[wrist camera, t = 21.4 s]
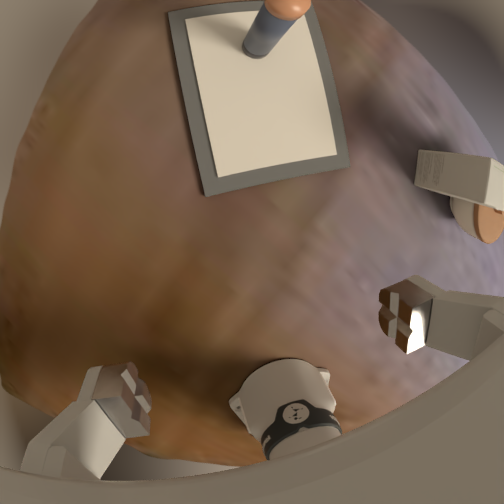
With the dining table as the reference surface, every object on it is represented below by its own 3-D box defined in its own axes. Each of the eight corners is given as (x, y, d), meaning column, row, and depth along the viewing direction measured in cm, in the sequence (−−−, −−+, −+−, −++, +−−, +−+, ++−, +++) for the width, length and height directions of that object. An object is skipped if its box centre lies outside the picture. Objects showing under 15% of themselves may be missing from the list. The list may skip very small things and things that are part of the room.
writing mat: (348, 166, 38) (351, 167, 37) (205, 196, 35) (205, 197, 34) (310, 3, 29) (312, 0, 28) (168, 14, 26) (167, 11, 25)
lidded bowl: (434, 185, 42) (482, 195, 32) (468, 156, 42) (511, 163, 32) (448, 242, 46) (489, 261, 36) (480, 211, 46) (518, 223, 36)
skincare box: (446, 160, 41) (515, 171, 26) (441, 195, 43) (509, 215, 28) (416, 148, 39) (492, 154, 25) (411, 187, 41) (486, 205, 26)
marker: (273, 58, 30) (315, 14, 18) (244, 61, 30) (274, 14, 17) (267, 34, 29) (305, -17, 16) (238, 36, 29) (264, -18, 16)
